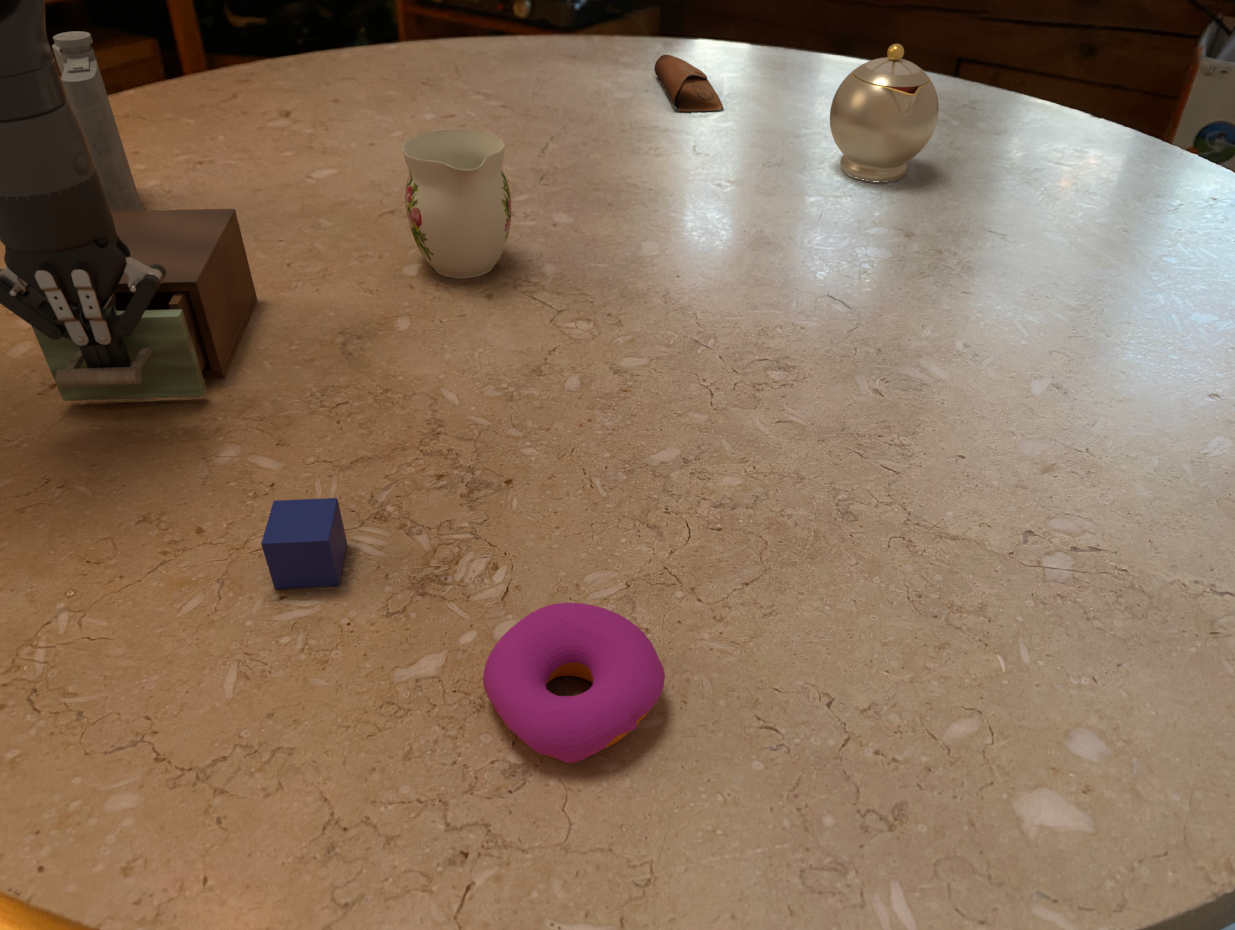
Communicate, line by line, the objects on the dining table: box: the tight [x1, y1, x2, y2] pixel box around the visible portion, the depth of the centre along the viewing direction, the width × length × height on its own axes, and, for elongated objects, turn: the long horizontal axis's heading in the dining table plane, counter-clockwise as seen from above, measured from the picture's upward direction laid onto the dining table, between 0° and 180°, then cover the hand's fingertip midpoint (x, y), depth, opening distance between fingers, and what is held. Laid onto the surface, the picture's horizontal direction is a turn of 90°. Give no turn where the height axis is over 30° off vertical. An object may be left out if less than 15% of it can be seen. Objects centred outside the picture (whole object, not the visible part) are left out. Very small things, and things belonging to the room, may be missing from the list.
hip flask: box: [51, 30, 144, 211], centre depth 105 cm, size 16×4×20 cm, turn 28°
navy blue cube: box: [260, 497, 348, 590], centre depth 66 cm, size 4×4×4 cm
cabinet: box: [111, 208, 258, 380], centre depth 87 cm, size 15×13×10 cm
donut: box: [482, 602, 666, 764], centre depth 57 cm, size 10×10×5 cm
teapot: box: [829, 43, 940, 184], centre depth 123 cm, size 18×14×16 cm
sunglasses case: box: [653, 54, 724, 113], centre depth 150 cm, size 18×7×7 cm, turn 8°
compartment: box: [30, 291, 208, 402], centre depth 82 cm, size 18×12×8 cm, turn 5°
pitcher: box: [401, 128, 512, 279], centre depth 100 cm, size 11×18×14 cm, turn 19°
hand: (113, 377), depth 77 cm, fingers closed
